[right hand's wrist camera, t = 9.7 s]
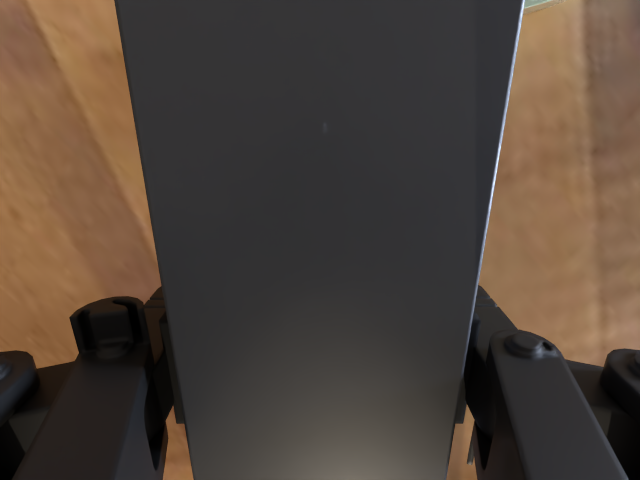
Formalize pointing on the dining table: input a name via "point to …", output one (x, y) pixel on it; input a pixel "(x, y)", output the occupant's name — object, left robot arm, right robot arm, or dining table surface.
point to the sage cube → (539, 5)
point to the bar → (319, 220)
